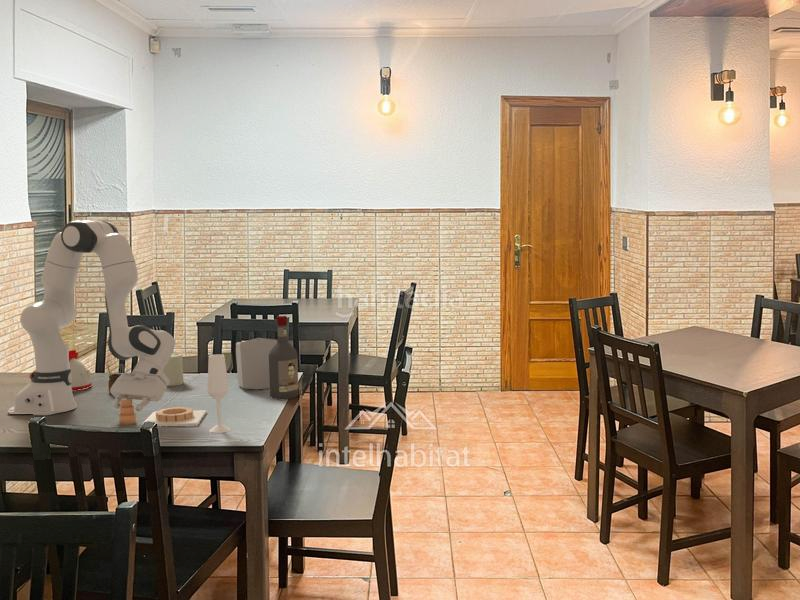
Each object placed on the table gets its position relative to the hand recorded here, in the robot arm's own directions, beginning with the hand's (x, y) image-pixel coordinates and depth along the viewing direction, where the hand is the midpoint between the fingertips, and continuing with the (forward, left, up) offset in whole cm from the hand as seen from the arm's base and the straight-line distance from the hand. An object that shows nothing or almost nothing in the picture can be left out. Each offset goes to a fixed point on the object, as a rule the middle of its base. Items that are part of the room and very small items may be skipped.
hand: (126, 409), depth 294 cm
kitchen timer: (-36, +60, -5) cm, 70 cm away
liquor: (+49, +33, -5) cm, 59 cm away
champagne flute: (+32, -13, -5) cm, 35 cm away
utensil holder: (-16, +48, -5) cm, 51 cm away
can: (+2, +63, -5) cm, 64 cm away
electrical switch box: (+37, +54, -5) cm, 66 cm away
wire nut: (0, 0, -5) cm, 5 cm away
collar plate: (+15, +2, -5) cm, 16 cm away
